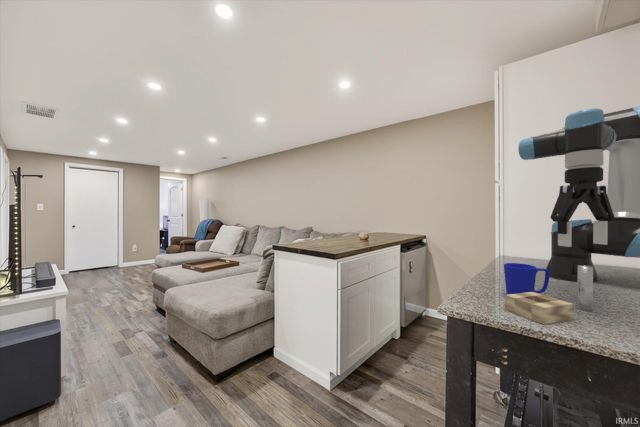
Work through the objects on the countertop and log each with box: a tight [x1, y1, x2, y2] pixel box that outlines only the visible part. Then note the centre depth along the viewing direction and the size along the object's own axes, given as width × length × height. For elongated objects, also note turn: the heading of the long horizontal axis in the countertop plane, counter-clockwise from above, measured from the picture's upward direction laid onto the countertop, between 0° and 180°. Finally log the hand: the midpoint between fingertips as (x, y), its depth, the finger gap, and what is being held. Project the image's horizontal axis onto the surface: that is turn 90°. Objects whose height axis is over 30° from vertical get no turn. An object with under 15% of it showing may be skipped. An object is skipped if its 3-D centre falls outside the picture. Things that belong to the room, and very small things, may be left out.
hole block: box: [504, 292, 574, 325], centre depth 69 cm, size 10×10×4 cm
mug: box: [503, 262, 550, 295], centre depth 82 cm, size 8×12×10 cm
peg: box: [576, 265, 594, 312], centre depth 72 cm, size 3×3×12 cm
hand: (582, 245), depth 72 cm, fingers open, 13 cm apart
